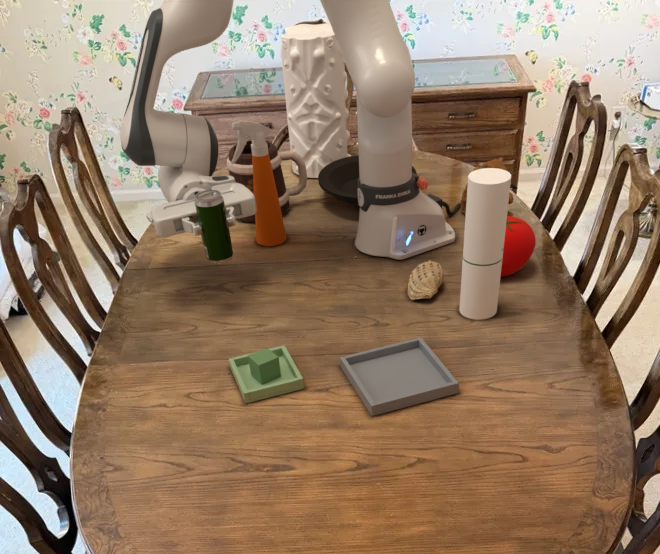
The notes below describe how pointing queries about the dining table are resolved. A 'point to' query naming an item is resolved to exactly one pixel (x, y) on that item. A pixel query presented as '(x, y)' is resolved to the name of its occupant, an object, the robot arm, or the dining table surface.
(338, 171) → the plate
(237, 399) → the dining table surface
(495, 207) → the cylindrical container
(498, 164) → the stuffed squirrel
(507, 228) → the tomato
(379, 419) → the dining table surface
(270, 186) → the spray bottle
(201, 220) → the beer can
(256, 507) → the dining table surface
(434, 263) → the seashell
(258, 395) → the sage tray
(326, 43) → the vase
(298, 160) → the mug
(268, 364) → the green block
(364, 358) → the steel tray
